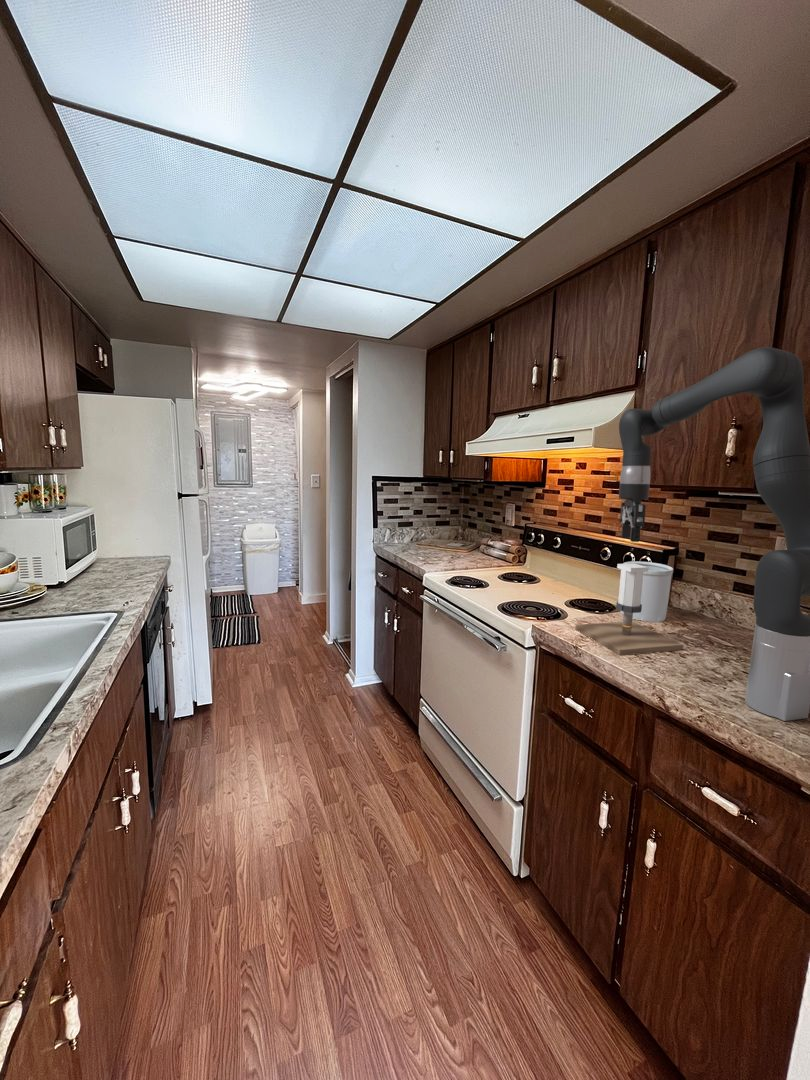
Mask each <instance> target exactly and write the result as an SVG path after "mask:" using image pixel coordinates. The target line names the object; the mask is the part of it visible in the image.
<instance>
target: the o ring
mask: <svg viewBox="0 0 810 1080" xmlns="http://www.w3.org/2000/svg"><path fill="white" fill-rule="evenodd" d="M615 609H616V610H618V611H620V612H621V611H623V612H629V613H640V612H641V610H642V605H641V604H640V606H636V607H633V606H632V607H631V606H625V605H622V604H619V603H618V600H617V602H616V603H615Z"/></svg>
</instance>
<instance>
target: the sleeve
mask: <svg viewBox="0 0 810 1080" xmlns="http://www.w3.org/2000/svg"><path fill="white" fill-rule="evenodd" d="M616 568H617V569H619V570H620V577H619V578H620V579H619V588H618V600H617V601H618V603H619V604H622V605H625V606H631V607H632V606H633V607H636V606H640V604H641V593H642V583H643V573H644V572H648V567H645V566H642V565H638V564H635V563H631V564H623V563H617V566H616Z"/></svg>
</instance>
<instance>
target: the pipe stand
mask: <svg viewBox="0 0 810 1080" xmlns="http://www.w3.org/2000/svg"><path fill="white" fill-rule="evenodd" d="M622 617H623V618H622V621H613V622H610V621H609V622H599V623H598V622H597V623H584V624H583V623H582V624H575V629H576V631H577V630H578V631H577V632H579V631H580V632H582V633H583V634H582V633H581V634H582V635H584V634H585V635H584V636H586V635H587V636H588V638H589V637H590V638H589V639H591V638H592V639H593V640H592V639H591V640H592V641H594V640H595V641H594V642H596V641H597V642H596V643H598V644H599V643H600V644H599V645H601V644H602V645H601V646H603V647H604V646H605V648H606V649H608V650H609V651H611V652H613V653H615V654H616V655H618V656H625V655H638V653H640V654H649V652H652V653H661V651H664V652H672V651H684V644H682V643H681V642H678V641H677V640H674V639H672V638H669V637H667V636H665V635H663V634H661V633H659V632H656V631H654V630H652V629H649V628H648V627H646V626H643V625H641V624H639V623H637V622H635V621H634V620H633V619H632V618H633V613H629V612H624V615H622ZM575 629H574V630H575ZM580 632H579V633H580ZM587 636H586V637H587Z"/></svg>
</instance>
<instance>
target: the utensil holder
mask: <svg viewBox="0 0 810 1080" xmlns="http://www.w3.org/2000/svg"><path fill="white" fill-rule="evenodd" d="M631 563H635V564H638V565H642V566H645V567H648V572H644V573H643V583H642V593H641V605H642V610H641V612H640V613H633V618H632V620H634V619H636V620H635V621H638V620H641V621H640V622H644V621H649V622H648V623H660V622H663V621H665V620H666V619H667V618H666V617H667V612H668V611H667V610H668V606H669V605H668V604H669V598H670V592H671V585H672V584H671V582H672V576H673V573H674V568H673V567H672V566H669V565H667V564H663V563H657V562H649V561H637V560H636V561H633V560H632V561H626V562H623V563H622V564H631ZM620 613H621V615H622V616H623V615H624V612H623V611H620Z"/></svg>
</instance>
